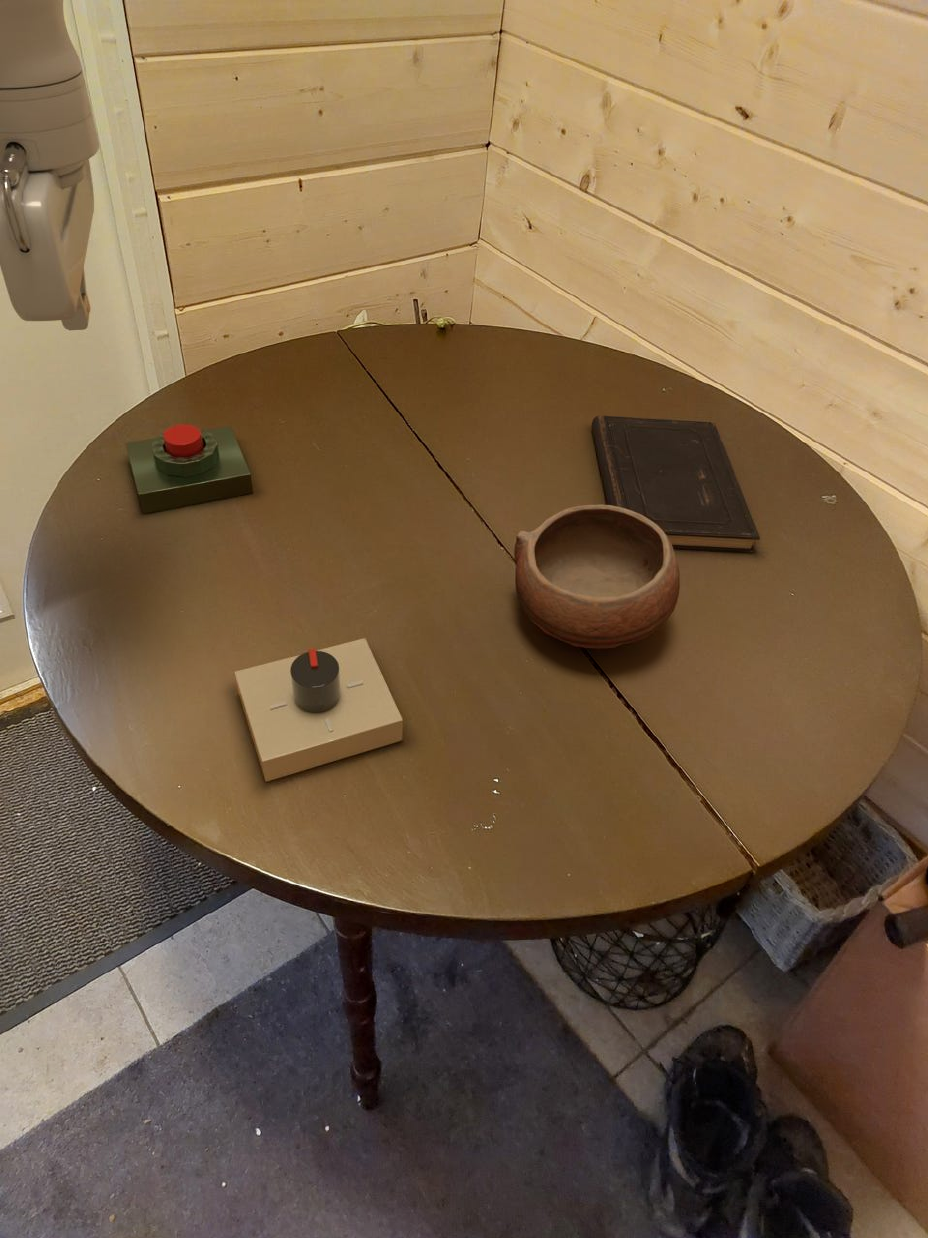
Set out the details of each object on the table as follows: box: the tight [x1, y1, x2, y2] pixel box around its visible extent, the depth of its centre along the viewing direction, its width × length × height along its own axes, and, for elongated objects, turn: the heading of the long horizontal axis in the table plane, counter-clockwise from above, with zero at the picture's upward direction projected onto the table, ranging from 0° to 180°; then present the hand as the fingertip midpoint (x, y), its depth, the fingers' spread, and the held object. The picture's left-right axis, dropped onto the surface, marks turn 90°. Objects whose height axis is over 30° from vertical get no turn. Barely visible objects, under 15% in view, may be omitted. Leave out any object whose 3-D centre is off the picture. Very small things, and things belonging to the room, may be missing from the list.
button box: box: [125, 425, 254, 515], centre depth 94 cm, size 12×10×4 cm
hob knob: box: [290, 648, 341, 713], centre depth 70 cm, size 4×4×4 cm
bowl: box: [513, 504, 681, 649], centre depth 81 cm, size 16×16×10 cm
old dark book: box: [591, 415, 761, 554], centre depth 100 cm, size 16×23×2 cm
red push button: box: [163, 424, 203, 457], centre depth 92 cm, size 4×4×2 cm
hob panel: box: [234, 637, 404, 783], centre depth 72 cm, size 12×10×3 cm
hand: (78, 321), depth 64 cm, fingers closed
